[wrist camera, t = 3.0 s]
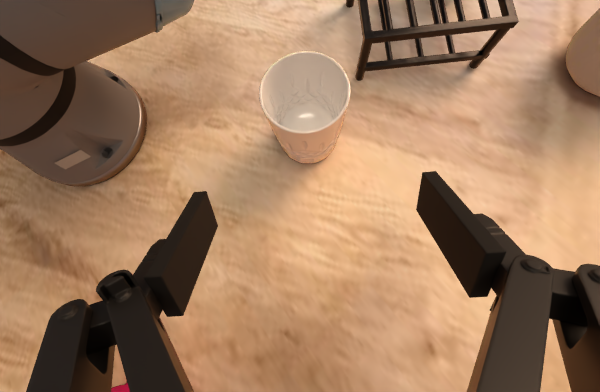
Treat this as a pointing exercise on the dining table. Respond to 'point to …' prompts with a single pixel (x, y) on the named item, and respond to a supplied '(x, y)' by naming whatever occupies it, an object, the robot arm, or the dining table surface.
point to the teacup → (586, 56)
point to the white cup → (305, 103)
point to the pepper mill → (121, 388)
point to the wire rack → (430, 33)
